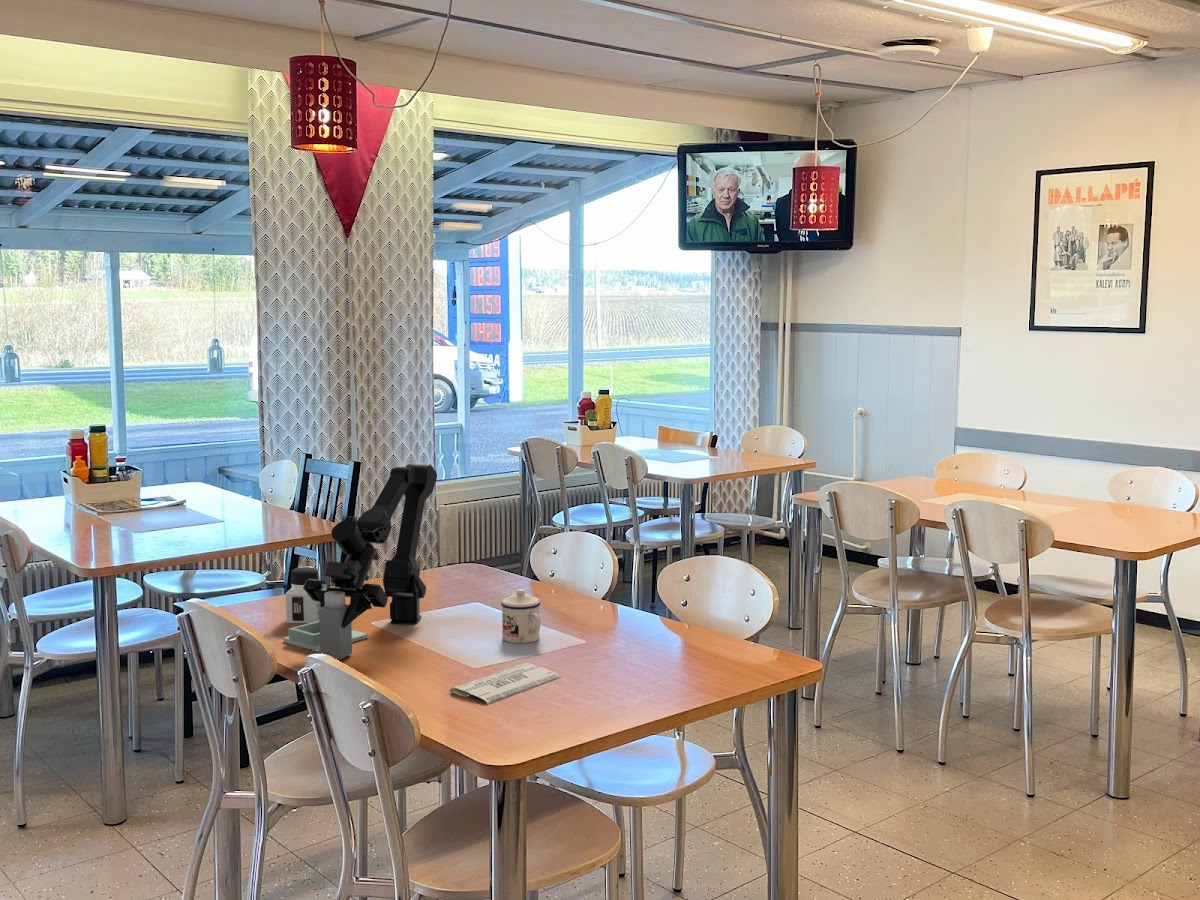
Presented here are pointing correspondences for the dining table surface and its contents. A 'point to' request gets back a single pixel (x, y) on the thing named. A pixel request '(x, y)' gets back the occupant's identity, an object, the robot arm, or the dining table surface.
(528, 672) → the newspaper
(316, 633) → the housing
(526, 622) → the teacup with lid
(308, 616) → the container
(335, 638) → the upright grey pillar
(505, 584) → the dining table surface
